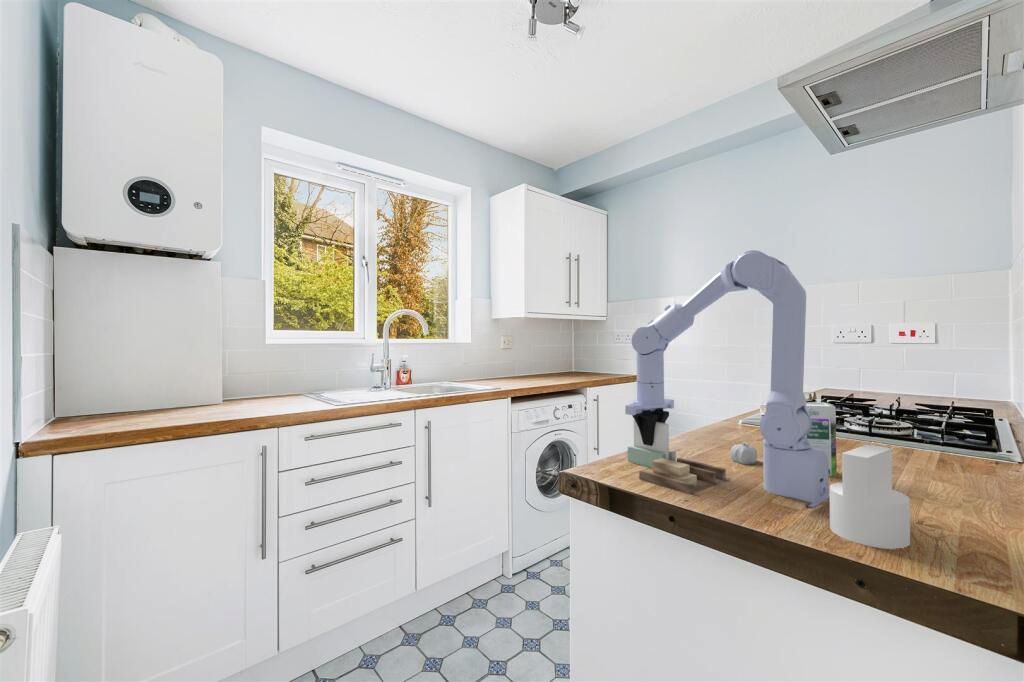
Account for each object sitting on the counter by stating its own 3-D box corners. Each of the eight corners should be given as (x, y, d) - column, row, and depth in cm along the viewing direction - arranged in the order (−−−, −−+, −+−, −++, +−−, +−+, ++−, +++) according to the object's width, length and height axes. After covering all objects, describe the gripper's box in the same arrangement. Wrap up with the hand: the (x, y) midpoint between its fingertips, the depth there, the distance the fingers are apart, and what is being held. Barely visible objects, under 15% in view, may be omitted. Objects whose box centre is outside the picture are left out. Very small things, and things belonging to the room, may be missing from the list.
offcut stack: (696, 484, 83) (696, 465, 83) (685, 488, 81) (685, 469, 81) (663, 475, 89) (663, 457, 89) (652, 479, 87) (652, 460, 87)
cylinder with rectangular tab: (845, 516, 70) (844, 440, 70) (920, 537, 62) (919, 452, 62) (818, 530, 65) (817, 449, 65) (896, 555, 58) (895, 463, 58)
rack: (731, 482, 87) (731, 468, 87) (690, 498, 79) (690, 482, 79) (680, 469, 96) (680, 456, 96) (639, 482, 88) (639, 468, 88)
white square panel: (669, 465, 95) (668, 423, 95) (664, 467, 94) (664, 424, 94) (638, 458, 101) (637, 418, 101) (634, 459, 101) (633, 419, 101)
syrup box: (804, 476, 90) (804, 404, 90) (793, 468, 96) (793, 400, 96) (837, 478, 89) (836, 405, 88) (824, 469, 94) (823, 401, 94)
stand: (676, 469, 96) (675, 451, 96) (661, 474, 93) (661, 454, 93) (641, 460, 103) (641, 443, 103) (627, 464, 100) (627, 446, 100)
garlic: (760, 469, 95) (760, 445, 95) (732, 467, 97) (732, 443, 97) (754, 462, 101) (754, 439, 101) (728, 460, 103) (728, 437, 102)
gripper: (655, 378, 105) (655, 436, 105) (613, 383, 97) (614, 445, 97) (682, 381, 99) (682, 441, 100) (640, 385, 91) (641, 452, 91)
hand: (650, 444), depth 98 cm, fingers closed on white square panel
